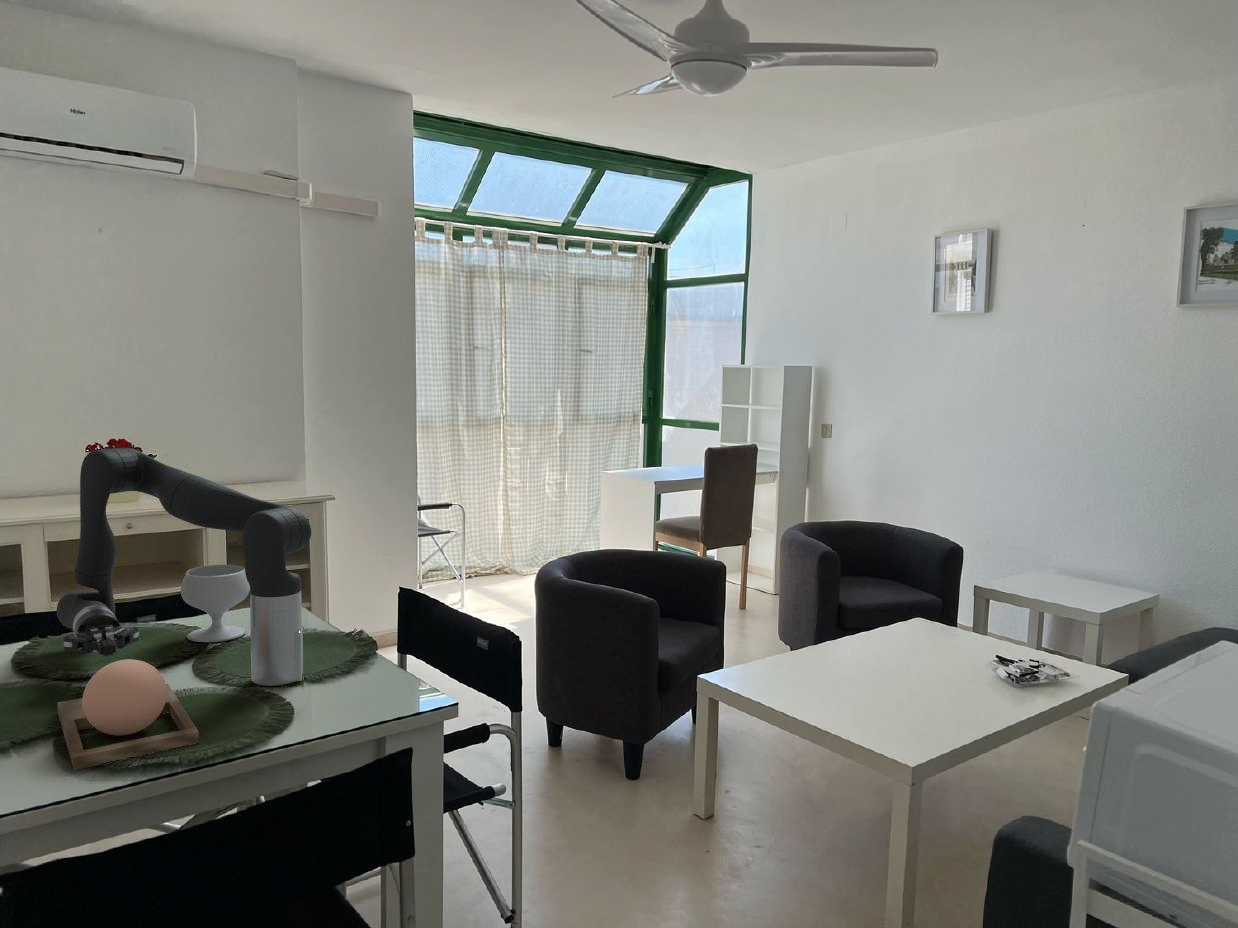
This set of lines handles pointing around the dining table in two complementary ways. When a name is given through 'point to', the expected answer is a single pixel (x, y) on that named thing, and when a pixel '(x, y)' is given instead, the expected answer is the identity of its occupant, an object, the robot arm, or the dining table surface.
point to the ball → (124, 697)
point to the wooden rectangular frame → (81, 758)
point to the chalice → (215, 598)
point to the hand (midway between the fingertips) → (108, 650)
